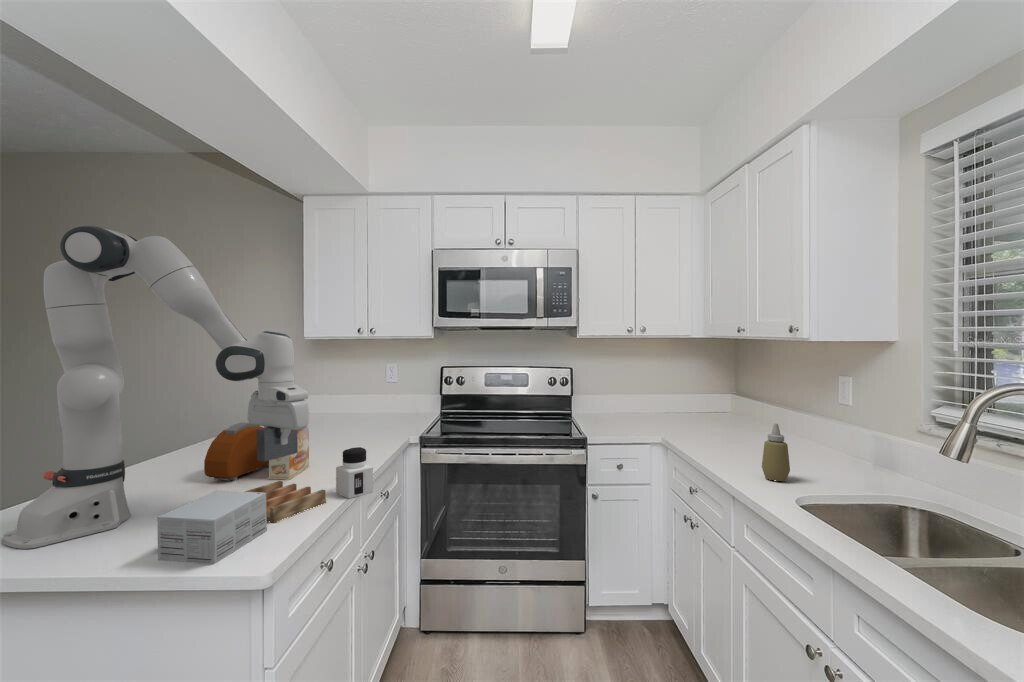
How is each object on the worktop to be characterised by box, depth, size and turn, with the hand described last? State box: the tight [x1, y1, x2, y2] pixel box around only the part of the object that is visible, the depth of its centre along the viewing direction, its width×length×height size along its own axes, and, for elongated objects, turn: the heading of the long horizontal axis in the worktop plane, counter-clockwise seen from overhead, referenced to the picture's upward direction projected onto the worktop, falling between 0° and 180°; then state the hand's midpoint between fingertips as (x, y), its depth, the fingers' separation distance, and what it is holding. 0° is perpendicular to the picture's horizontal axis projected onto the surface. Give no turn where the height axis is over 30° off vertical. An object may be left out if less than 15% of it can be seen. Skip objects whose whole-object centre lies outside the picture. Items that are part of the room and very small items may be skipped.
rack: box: [243, 480, 327, 524], centre depth 130 cm, size 16×19×4 cm
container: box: [335, 446, 374, 499], centre depth 141 cm, size 8×8×13 cm
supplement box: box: [156, 490, 268, 565], centre depth 106 cm, size 17×13×9 cm
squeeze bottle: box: [761, 423, 791, 482], centre depth 156 cm, size 8×8×18 cm
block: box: [257, 427, 298, 461], centre depth 130 cm, size 10×3×8 cm, turn 153°
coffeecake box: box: [268, 422, 310, 480], centre depth 161 cm, size 15×7×20 cm, turn 179°
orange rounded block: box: [203, 422, 269, 482], centre depth 162 cm, size 23×9×17 cm, turn 169°
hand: (277, 443), depth 130 cm, fingers closed on block, 3 cm apart
